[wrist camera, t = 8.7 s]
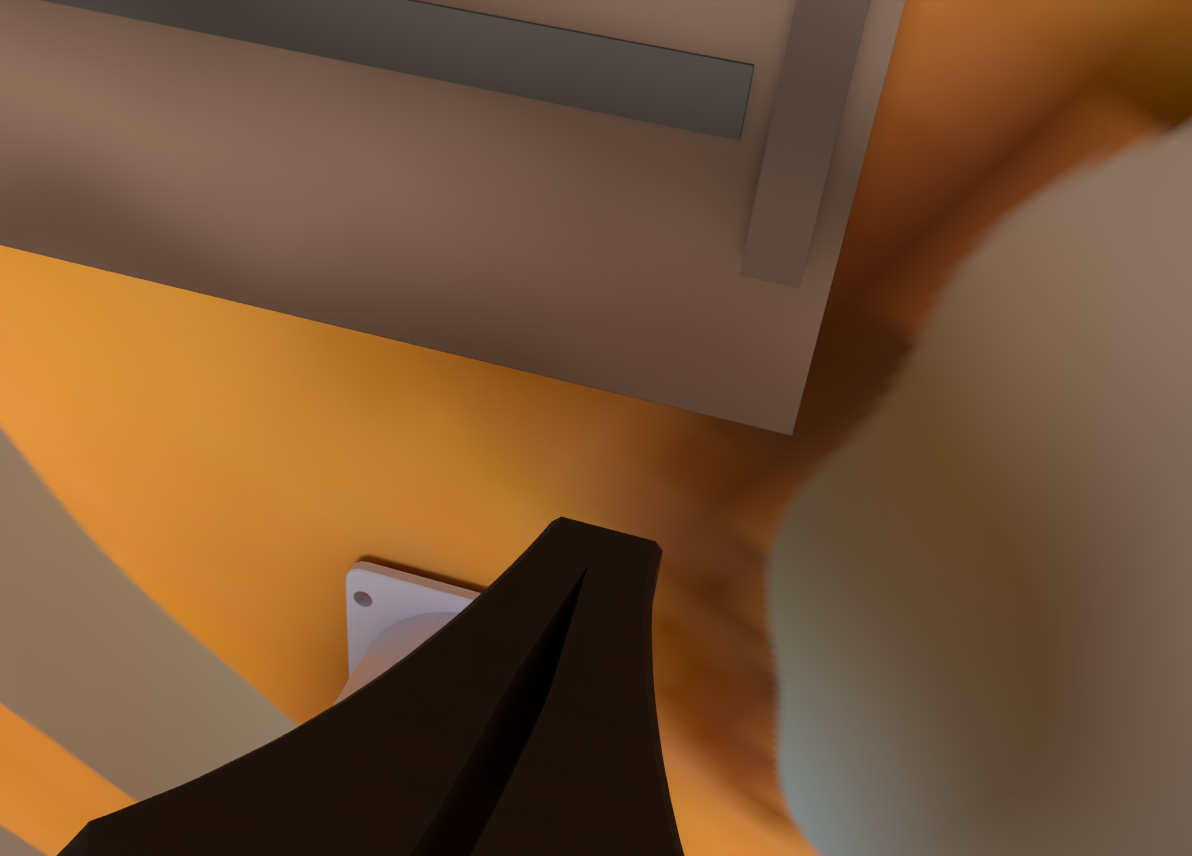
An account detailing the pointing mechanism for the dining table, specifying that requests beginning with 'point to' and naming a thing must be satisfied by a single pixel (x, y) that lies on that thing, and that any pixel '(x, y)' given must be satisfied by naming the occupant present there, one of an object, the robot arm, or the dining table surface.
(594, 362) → the slotted base plate
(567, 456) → the dining table surface
